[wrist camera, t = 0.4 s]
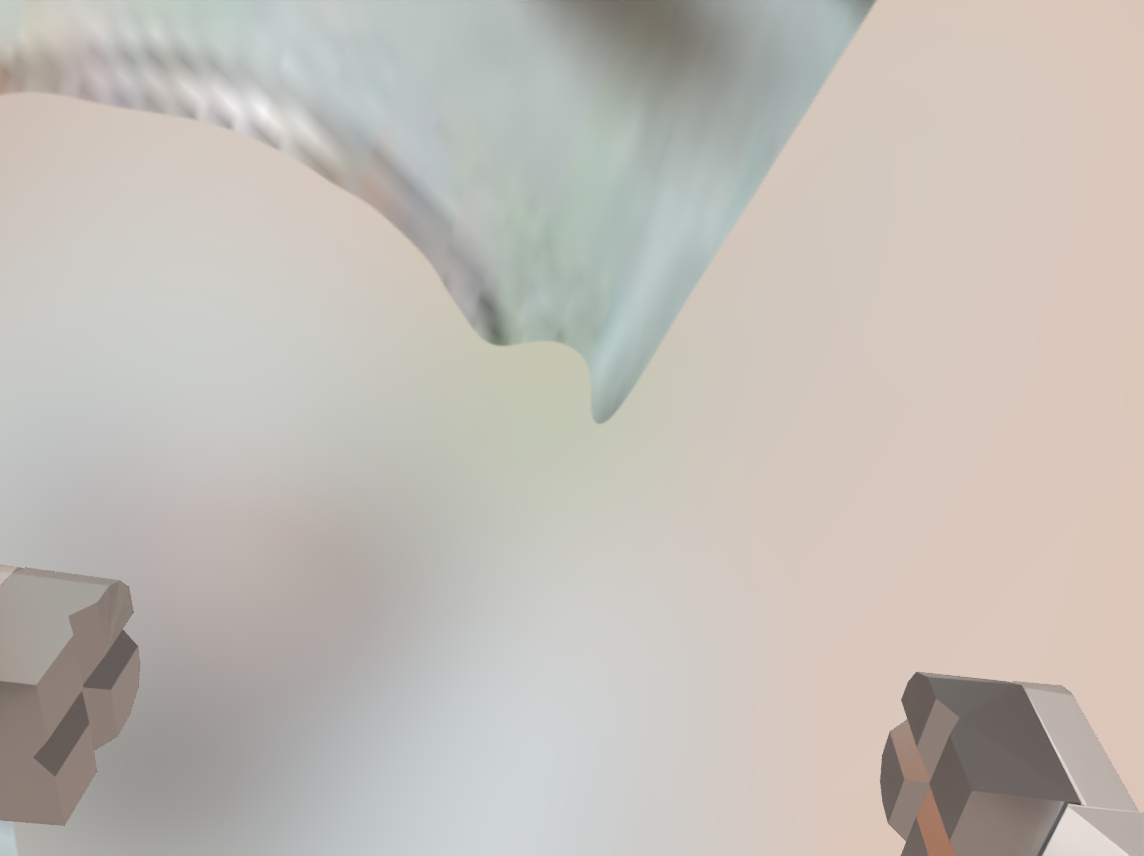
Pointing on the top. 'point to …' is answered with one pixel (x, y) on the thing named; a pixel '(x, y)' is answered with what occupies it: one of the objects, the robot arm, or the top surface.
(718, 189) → the top surface
